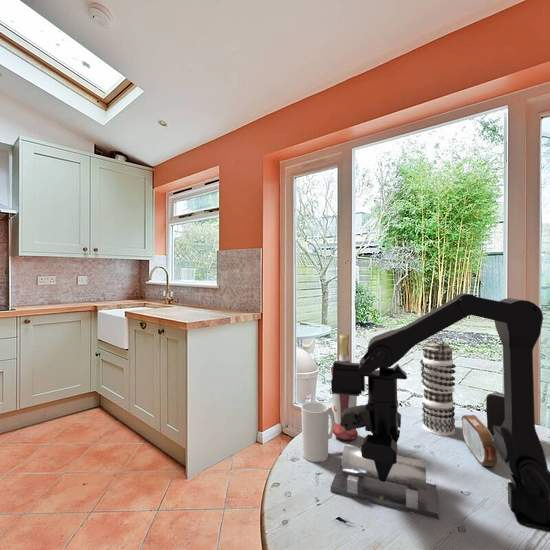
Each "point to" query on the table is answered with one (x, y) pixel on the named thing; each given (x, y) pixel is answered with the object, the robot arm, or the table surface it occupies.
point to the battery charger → (495, 410)
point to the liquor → (343, 396)
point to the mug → (316, 430)
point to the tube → (400, 473)
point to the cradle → (387, 493)
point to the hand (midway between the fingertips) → (383, 473)
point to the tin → (479, 440)
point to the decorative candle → (438, 388)
